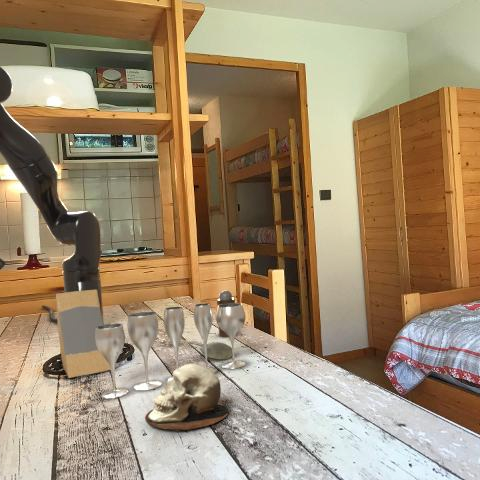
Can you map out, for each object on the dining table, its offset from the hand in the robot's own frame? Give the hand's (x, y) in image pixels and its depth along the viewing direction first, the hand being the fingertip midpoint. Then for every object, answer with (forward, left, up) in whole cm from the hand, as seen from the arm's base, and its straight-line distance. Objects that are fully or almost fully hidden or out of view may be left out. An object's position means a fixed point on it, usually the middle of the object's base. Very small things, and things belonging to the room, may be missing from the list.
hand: (0, 267), depth 102 cm
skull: (+40, +30, -22) cm, 55 cm away
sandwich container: (0, +14, -22) cm, 26 cm away
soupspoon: (+2, +37, -22) cm, 43 cm away
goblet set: (+20, +31, -22) cm, 43 cm away
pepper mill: (-10, +46, -22) cm, 52 cm away
